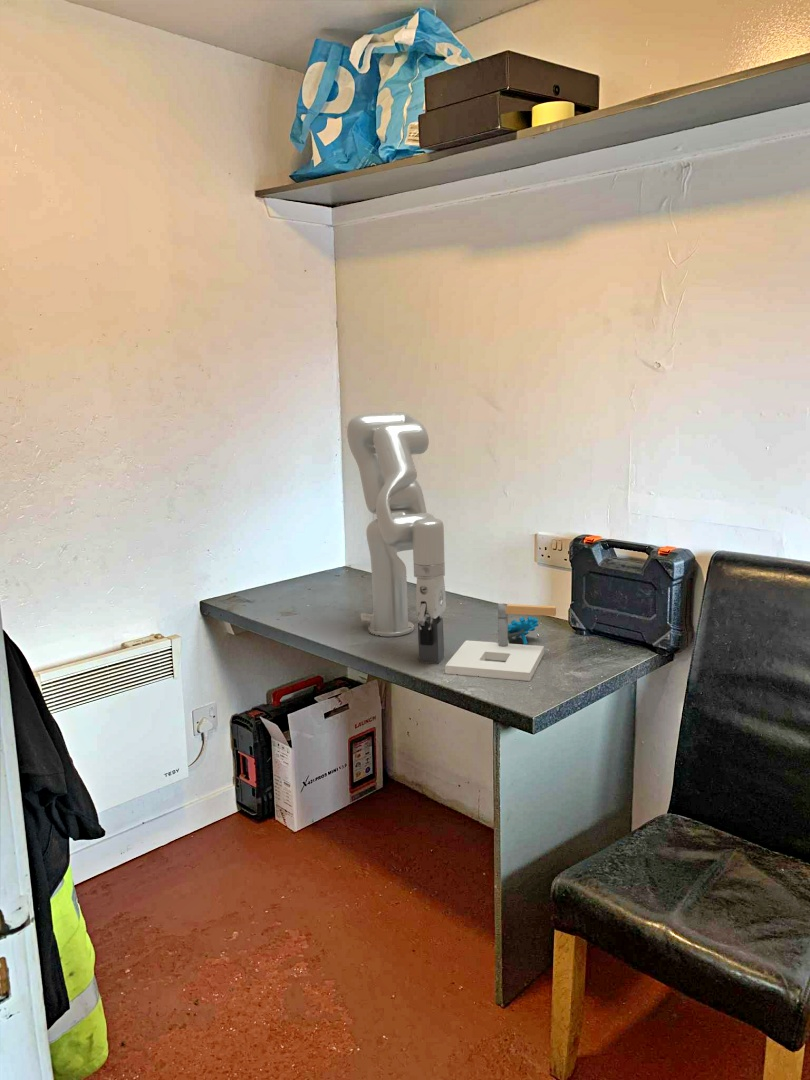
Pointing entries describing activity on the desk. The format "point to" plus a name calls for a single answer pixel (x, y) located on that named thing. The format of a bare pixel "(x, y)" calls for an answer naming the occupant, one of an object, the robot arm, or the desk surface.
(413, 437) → the robot arm
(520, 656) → the socket block
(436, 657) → the plug
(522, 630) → the blue spiky figurine
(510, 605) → the clip
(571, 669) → the desk surface
